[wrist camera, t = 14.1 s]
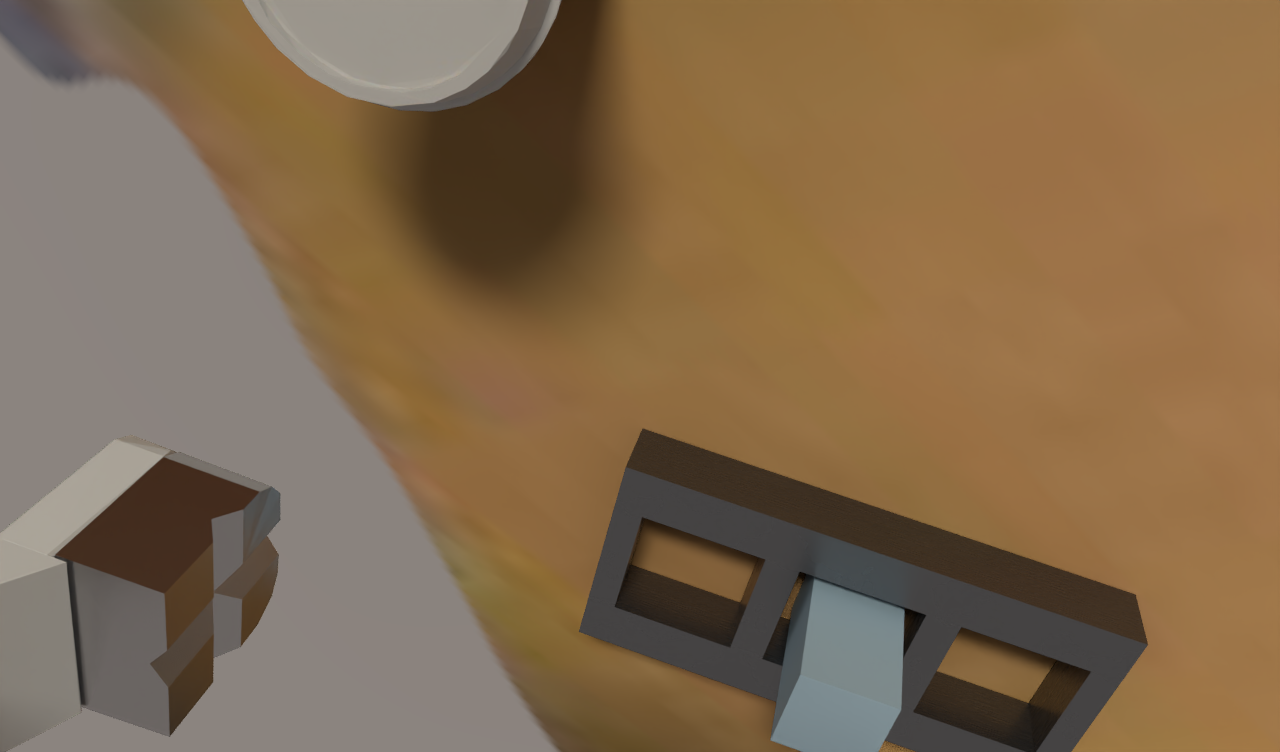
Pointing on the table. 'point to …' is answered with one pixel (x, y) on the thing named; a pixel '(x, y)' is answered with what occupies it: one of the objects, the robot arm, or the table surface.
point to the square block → (839, 670)
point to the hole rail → (871, 564)
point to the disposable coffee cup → (408, 45)
